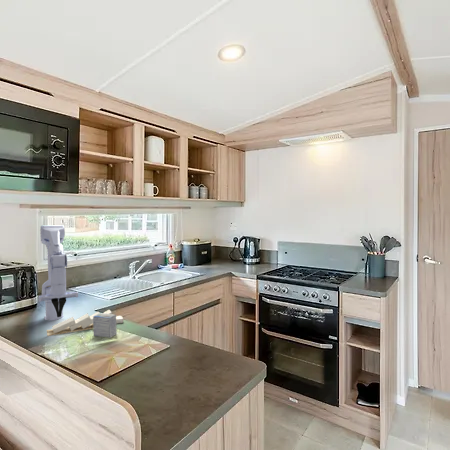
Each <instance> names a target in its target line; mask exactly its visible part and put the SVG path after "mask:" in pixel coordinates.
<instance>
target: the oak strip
mask: <svg viewBox="0 0 450 450" xmlns="http://www.w3.org/2000/svg"><path fill="white" fill-rule="evenodd" d="M92 329H93V324H91V325H89V326H87V327H86V328H84V329H83V328H82V326H79V327H78V328H76V329H74V330H72V331H71V329H70V328H69V327H68V328H66V329H64V330H61V331H59V332H57V333H55V334H54V332H53V329H52V328H51V329H46V335H47V337H51V336H57V335H62V334H63V335H64V334H70V333H75V332H82V331H87V330H92Z"/></svg>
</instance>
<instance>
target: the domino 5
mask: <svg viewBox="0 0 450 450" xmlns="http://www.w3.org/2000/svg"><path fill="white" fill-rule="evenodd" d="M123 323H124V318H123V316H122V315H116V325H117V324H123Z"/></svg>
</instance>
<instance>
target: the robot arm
mask: <svg viewBox="0 0 450 450" xmlns="http://www.w3.org/2000/svg"><path fill="white" fill-rule="evenodd" d="M39 227H40V230H39V231H40V242H41V244H43V245H45V247H46V250H47V251H46V253H47V276H48V277H47V278H48V279H47V280H46V281H45V282H44V283H42V285H41V295H38V302H39V303H40V302H45V306H44V307H45V316H43V317H44V320H45V321H57V320H61V319H63V318H65V315H64V307H65V304H66V303H67V299H71V298H78V297H79V292H78V291H69V292H67V267H68V257H67V253H66V252H65V249H64V245H63V241H64V239H65V236H66V233H65V232H66V231H65V230H66V229H65V228H66V227H65V225H64V224H61V225H60V224H58V225H55V224H54V225H53V224H52V225H45V224H44V225H43V224H42V225H40V226H39Z"/></svg>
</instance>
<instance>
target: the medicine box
mask: <svg viewBox="0 0 450 450" xmlns="http://www.w3.org/2000/svg"><path fill="white" fill-rule="evenodd" d="M99 313H100V312H99ZM102 313H103V312H101V313H100V314H97V315H95V316H93V336H94V337H101V338H103V337H104V338H112V337H114V336H115V335H117V333H118V332H117V330H118V329H117V327H118V326H117V324H116V316H117V314H113V313H112V314H102Z"/></svg>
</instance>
